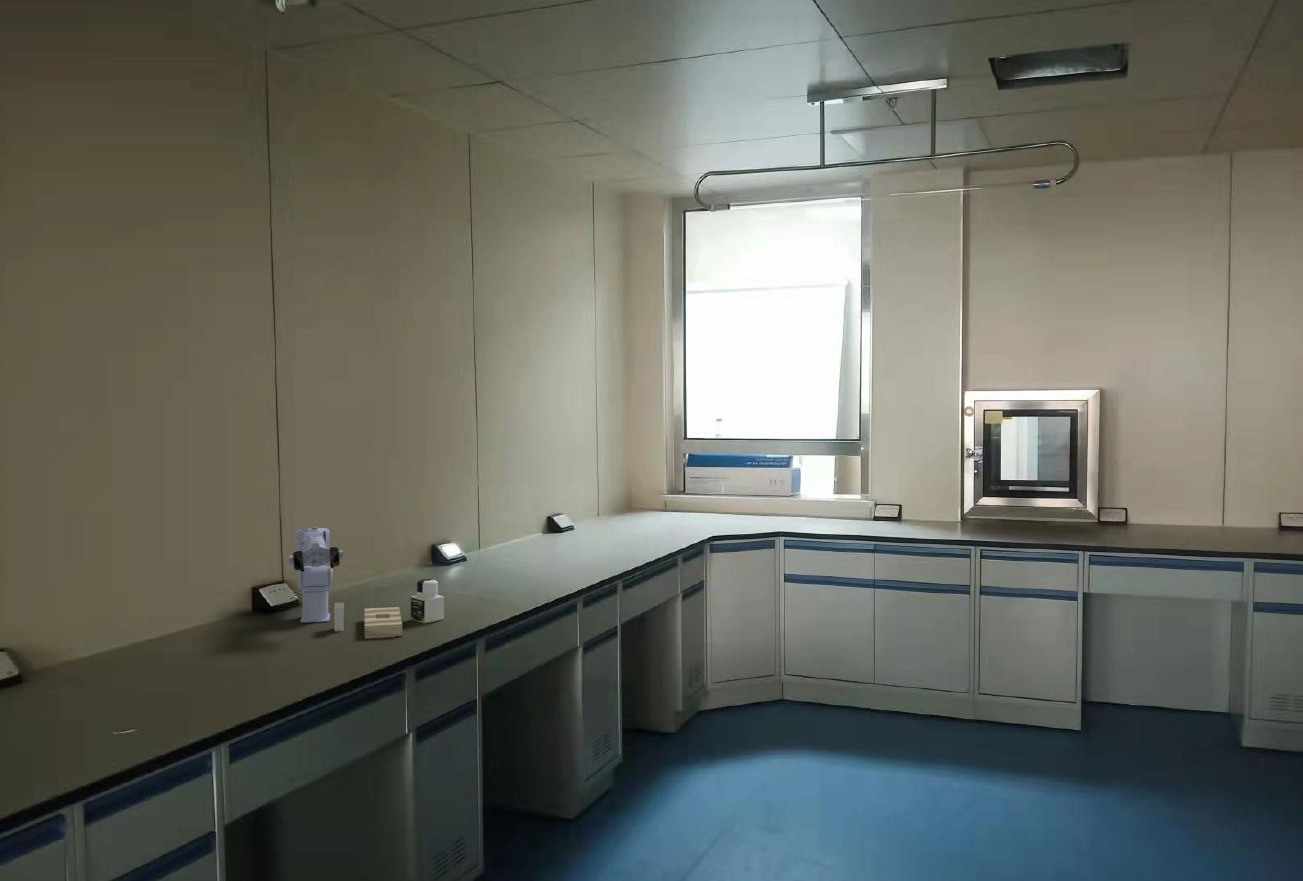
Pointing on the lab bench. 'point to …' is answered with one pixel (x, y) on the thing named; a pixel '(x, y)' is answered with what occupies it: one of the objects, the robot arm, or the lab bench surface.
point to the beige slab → (383, 622)
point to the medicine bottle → (427, 602)
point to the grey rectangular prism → (339, 616)
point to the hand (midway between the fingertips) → (317, 566)
